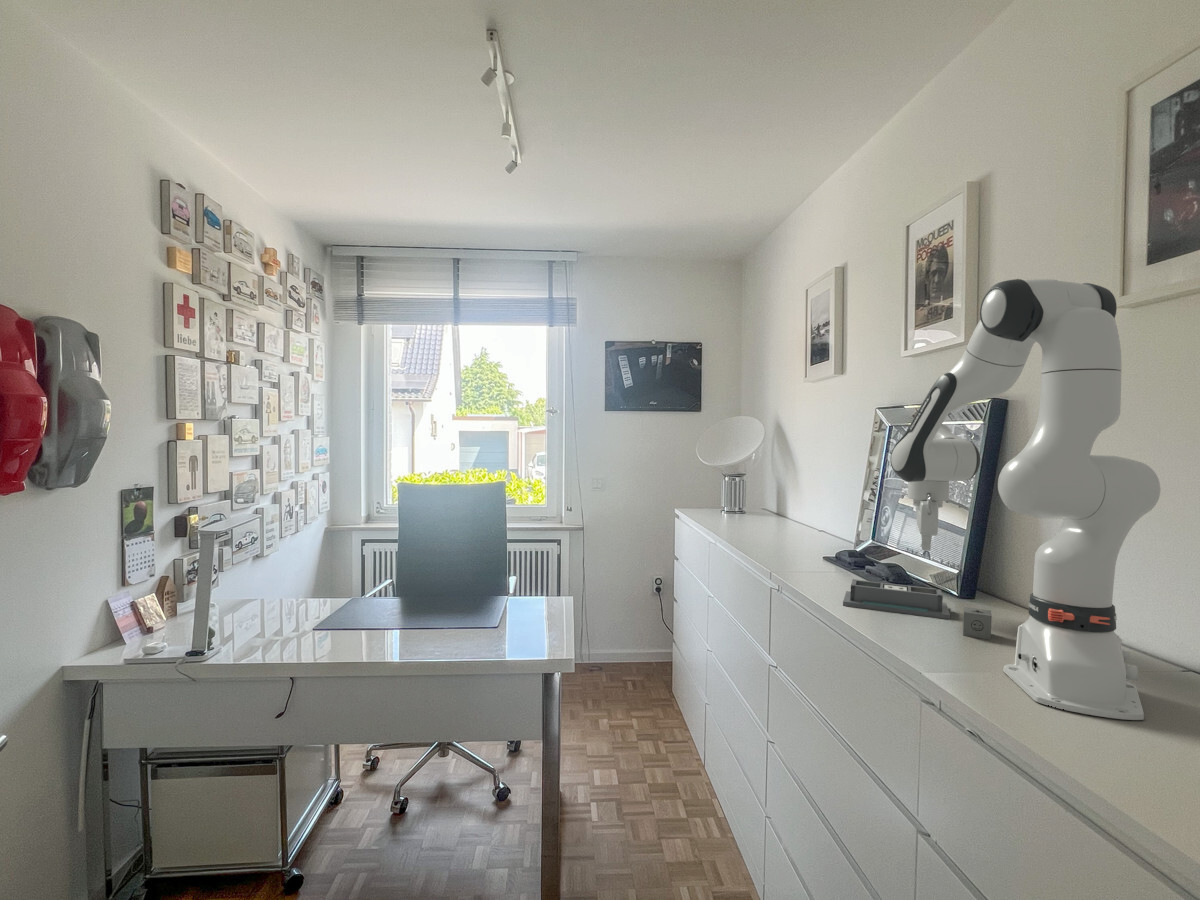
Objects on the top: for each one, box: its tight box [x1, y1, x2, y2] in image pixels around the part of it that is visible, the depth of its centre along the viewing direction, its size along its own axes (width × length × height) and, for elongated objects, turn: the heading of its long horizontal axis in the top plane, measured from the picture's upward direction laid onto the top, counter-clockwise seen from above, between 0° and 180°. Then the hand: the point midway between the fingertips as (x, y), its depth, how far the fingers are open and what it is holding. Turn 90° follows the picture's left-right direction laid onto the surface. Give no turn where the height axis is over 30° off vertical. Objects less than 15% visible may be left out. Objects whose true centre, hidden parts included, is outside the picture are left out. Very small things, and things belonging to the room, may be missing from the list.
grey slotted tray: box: [842, 578, 951, 620], centre depth 160 cm, size 12×23×5 cm, turn 66°
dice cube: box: [962, 606, 993, 641], centre depth 138 cm, size 5×5×5 cm
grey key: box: [884, 585, 907, 591], centre depth 160 cm, size 5×5×2 cm
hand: (925, 549), depth 157 cm, fingers closed
